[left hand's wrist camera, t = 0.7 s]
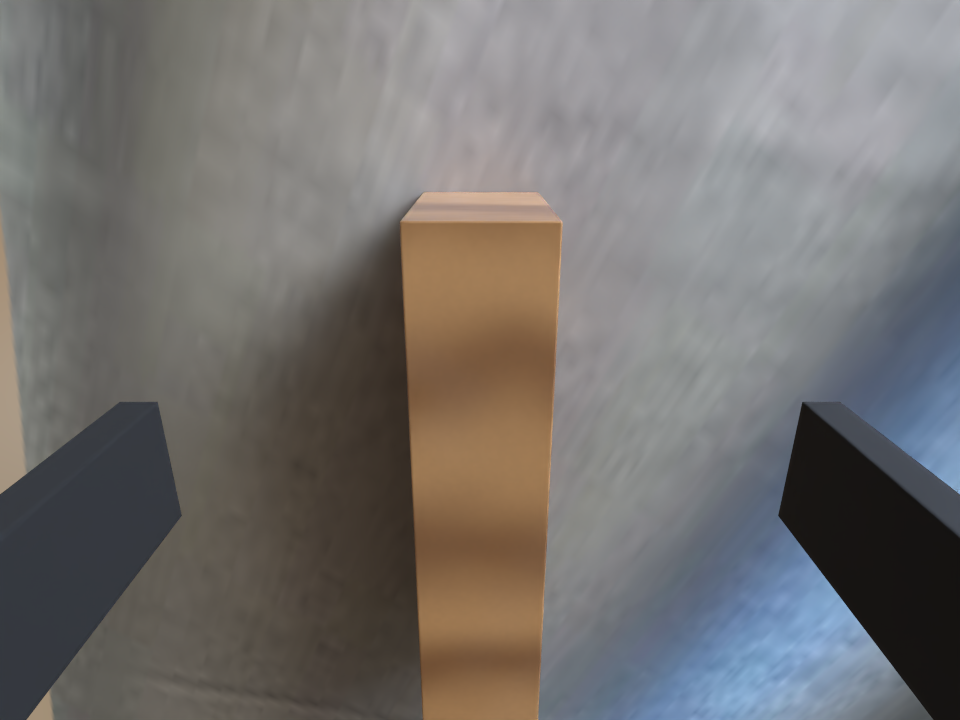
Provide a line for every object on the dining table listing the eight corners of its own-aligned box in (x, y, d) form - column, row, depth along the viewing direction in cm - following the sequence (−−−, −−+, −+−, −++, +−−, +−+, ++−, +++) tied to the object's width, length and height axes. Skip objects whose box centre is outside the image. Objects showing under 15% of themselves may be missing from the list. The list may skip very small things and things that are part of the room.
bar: (422, 191, 30) (399, 221, 21) (538, 192, 30) (563, 221, 21) (436, 616, 40) (424, 756, 31) (524, 616, 40) (536, 757, 31)
